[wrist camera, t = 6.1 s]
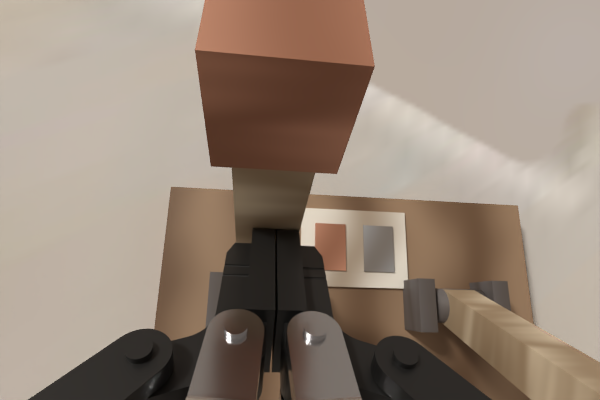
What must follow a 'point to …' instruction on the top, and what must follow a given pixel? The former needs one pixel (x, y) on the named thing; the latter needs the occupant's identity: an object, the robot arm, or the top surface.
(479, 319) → the slate lever
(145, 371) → the robot arm
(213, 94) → the terracotta lever
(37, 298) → the top surface
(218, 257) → the switch board
